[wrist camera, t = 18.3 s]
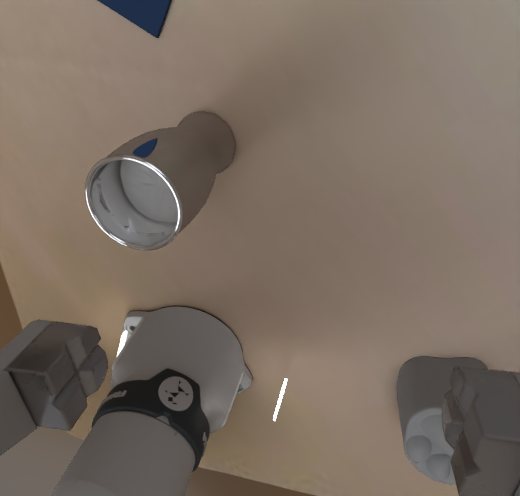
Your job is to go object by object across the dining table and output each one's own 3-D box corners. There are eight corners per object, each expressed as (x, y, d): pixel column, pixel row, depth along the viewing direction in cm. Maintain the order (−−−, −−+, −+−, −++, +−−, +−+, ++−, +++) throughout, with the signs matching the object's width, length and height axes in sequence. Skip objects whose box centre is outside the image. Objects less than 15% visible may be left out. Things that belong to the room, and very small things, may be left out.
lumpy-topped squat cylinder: (495, 358, 43) (527, 427, 36) (481, 432, 49) (505, 504, 42) (397, 355, 45) (408, 419, 38) (395, 426, 51) (404, 493, 44)
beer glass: (247, 116, 35) (191, 169, 22) (234, 186, 38) (179, 265, 26) (174, 97, 35) (78, 137, 22) (168, 167, 39) (82, 237, 26)
